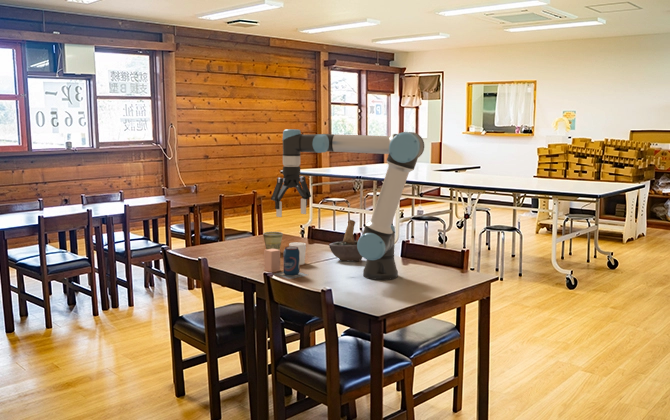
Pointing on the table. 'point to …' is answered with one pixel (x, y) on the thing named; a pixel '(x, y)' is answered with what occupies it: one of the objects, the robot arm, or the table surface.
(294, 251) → the soda can
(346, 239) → the mortar and pestle
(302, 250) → the white cup
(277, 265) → the block
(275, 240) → the ceramic cup
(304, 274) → the mat
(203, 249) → the table surface
